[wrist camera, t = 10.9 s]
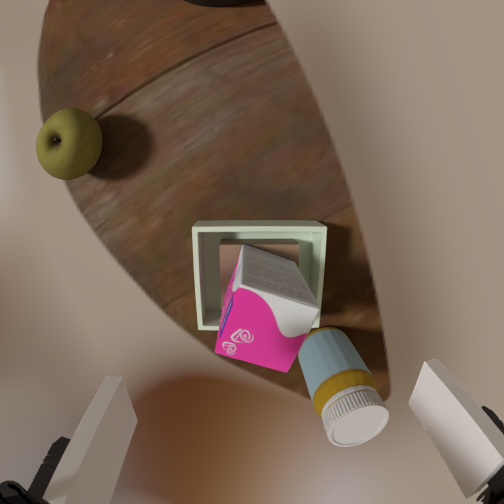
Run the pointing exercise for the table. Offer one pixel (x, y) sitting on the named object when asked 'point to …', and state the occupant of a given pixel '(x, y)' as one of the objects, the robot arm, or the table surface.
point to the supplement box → (265, 310)
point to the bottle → (341, 388)
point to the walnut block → (233, 246)
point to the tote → (213, 231)
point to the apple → (69, 144)
